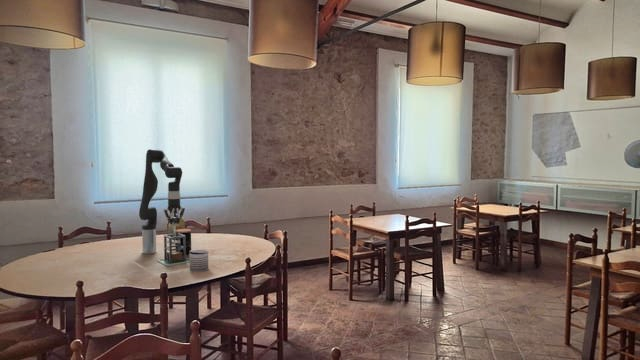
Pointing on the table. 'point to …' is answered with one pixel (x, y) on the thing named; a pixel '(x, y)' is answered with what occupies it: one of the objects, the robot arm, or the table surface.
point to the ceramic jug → (176, 226)
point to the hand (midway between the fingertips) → (174, 223)
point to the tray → (173, 263)
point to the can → (198, 260)
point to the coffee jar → (188, 239)
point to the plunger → (174, 219)
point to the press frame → (172, 254)
